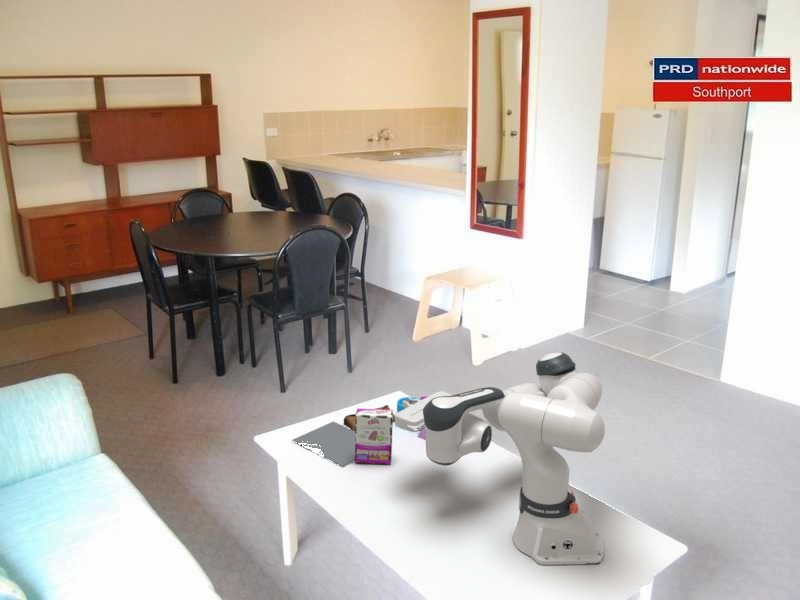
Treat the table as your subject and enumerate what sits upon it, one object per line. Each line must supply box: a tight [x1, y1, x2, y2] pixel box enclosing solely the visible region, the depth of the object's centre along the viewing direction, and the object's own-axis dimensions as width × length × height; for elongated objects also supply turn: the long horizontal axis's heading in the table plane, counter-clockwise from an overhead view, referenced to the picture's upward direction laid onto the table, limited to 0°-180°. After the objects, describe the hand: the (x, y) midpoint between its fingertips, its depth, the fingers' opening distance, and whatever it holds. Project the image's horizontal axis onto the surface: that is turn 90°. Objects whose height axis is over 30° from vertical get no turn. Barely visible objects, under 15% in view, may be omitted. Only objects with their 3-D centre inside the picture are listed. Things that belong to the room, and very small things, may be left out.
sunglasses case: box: [343, 404, 395, 431], centre depth 241 cm, size 18×7×7 cm, turn 124°
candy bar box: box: [354, 408, 394, 465], centre depth 213 cm, size 11×5×16 cm, turn 88°
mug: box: [396, 396, 418, 413], centre depth 240 cm, size 12×8×8 cm
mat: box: [292, 421, 355, 468], centre depth 226 cm, size 24×18×1 cm
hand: (405, 401), depth 204 cm, fingers closed
